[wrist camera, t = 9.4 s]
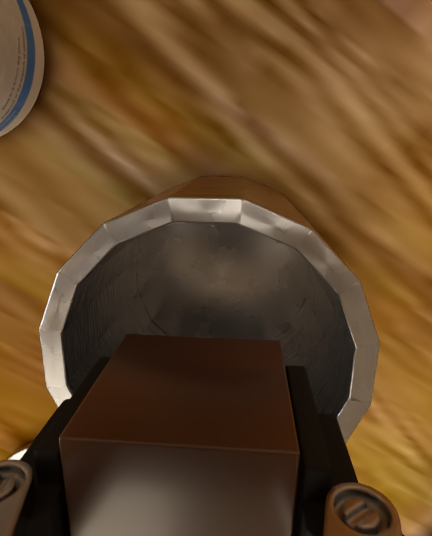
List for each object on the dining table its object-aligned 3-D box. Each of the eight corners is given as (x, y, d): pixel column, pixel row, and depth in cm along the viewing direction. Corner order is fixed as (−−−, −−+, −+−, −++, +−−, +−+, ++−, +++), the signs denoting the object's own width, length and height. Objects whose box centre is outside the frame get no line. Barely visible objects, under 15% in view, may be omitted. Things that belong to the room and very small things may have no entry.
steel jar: (130, 358, 26) (58, 489, 16) (120, 174, 23) (21, 193, 13) (312, 366, 25) (357, 510, 15) (329, 177, 22) (400, 201, 12)
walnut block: (133, 458, 13) (77, 611, 9) (126, 332, 12) (57, 437, 7) (272, 468, 12) (285, 629, 8) (280, 340, 11) (301, 453, 7)
